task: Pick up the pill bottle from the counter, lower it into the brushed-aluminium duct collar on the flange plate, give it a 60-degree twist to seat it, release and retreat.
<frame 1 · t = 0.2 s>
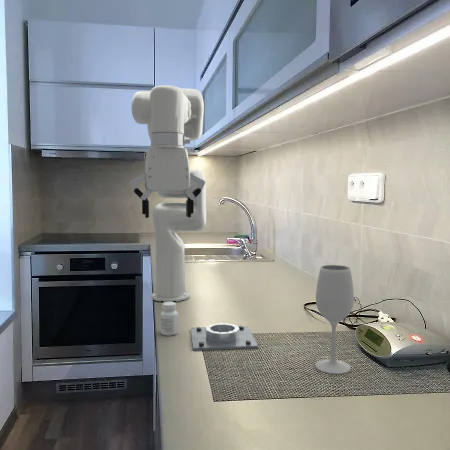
hand: (168, 217, 107), 30 cm above the countertop, fingers open, 9 cm apart
pill bottle: (169, 333, 118), on the countertop
flange plate: (222, 338, 114), on the countertop
wineglass: (332, 368, 96), on the countertop
duct collar: (222, 338, 114), resting on flange plate
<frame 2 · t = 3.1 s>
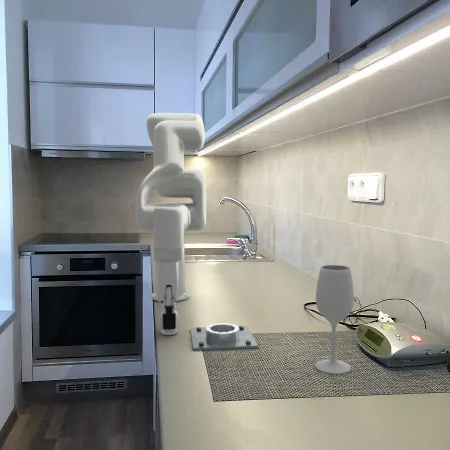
hand: (169, 325, 118), 2 cm above the countertop, fingers closed on pill bottle, 4 cm apart
pill bottle: (169, 333, 118), on the countertop, touching gripper
everything else where it was.
when the fingers open (3 cm above the countertop, at t = 8.7 s): pill bottle stays where it is, resting on flange plate.
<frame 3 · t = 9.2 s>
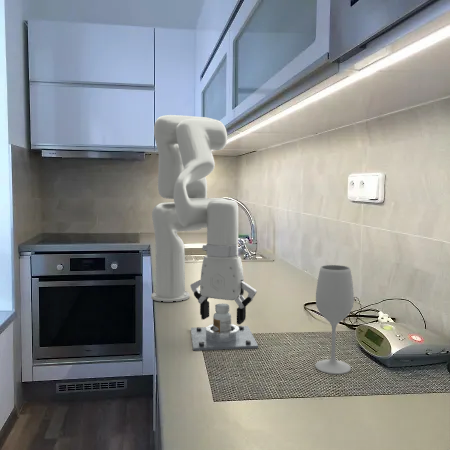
hand: (222, 320, 113), 5 cm above the countertop, fingers open, 9 cm apart
pill bottle: (222, 336, 114), resting on flange plate
everything else where it was.
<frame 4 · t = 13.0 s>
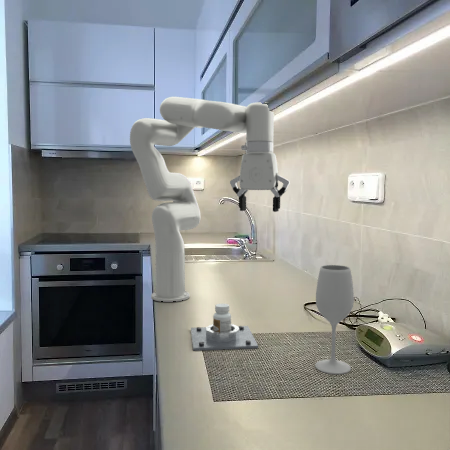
hand: (259, 211, 129), 30 cm above the countertop, fingers open, 9 cm apart
nothing on the countertop moved.
at the end: pill bottle 0.2 cm off-centre on the duct collar, point 0.4 cm above the duct collar's base; pill bottle tilted 0°; the gripper is holding nothing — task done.
